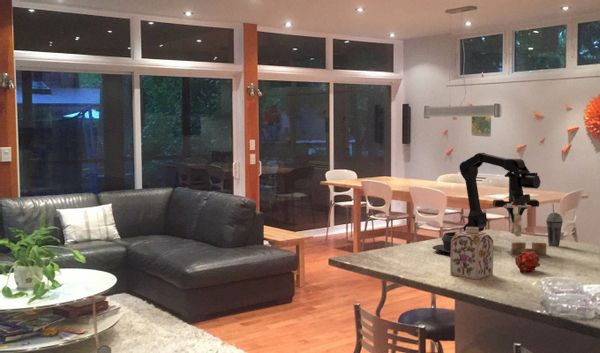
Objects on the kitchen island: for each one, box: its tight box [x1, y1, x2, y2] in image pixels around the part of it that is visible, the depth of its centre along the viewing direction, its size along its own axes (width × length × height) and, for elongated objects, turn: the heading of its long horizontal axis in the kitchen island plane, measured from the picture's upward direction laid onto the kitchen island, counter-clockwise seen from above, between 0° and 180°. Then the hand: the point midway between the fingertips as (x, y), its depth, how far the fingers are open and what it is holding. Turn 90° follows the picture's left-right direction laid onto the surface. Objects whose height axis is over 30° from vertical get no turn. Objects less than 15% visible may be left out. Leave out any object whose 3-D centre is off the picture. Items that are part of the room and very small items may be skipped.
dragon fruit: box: [514, 250, 541, 273], centre depth 239 cm, size 8×8×12 cm
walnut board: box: [510, 241, 547, 255], centre depth 268 cm, size 14×2×5 cm, turn 84°
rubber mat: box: [506, 250, 553, 259], centre depth 268 cm, size 16×13×1 cm
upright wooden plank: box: [509, 211, 522, 237], centre depth 277 cm, size 2×12×9 cm, turn 174°
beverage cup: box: [545, 202, 564, 248], centre depth 289 cm, size 7×7×20 cm
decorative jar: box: [449, 227, 494, 281], centre depth 233 cm, size 12×12×18 cm
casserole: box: [432, 231, 458, 255], centre depth 274 cm, size 25×19×8 cm
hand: (515, 222), depth 277 cm, fingers closed on upright wooden plank, 2 cm apart
